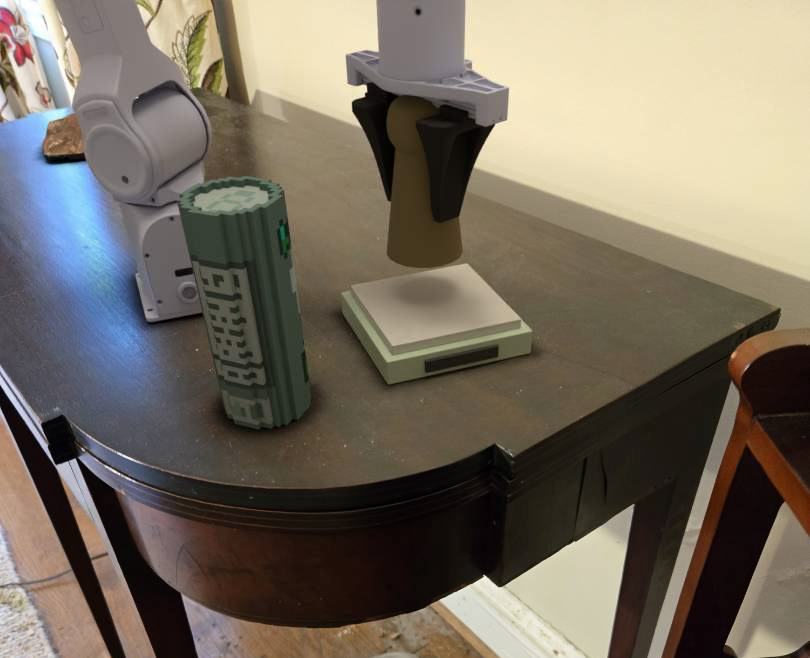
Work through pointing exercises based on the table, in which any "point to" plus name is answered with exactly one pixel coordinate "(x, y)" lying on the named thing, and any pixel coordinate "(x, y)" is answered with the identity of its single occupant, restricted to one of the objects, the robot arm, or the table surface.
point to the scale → (433, 323)
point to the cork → (415, 194)
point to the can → (248, 297)
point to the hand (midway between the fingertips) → (423, 208)
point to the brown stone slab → (63, 139)
